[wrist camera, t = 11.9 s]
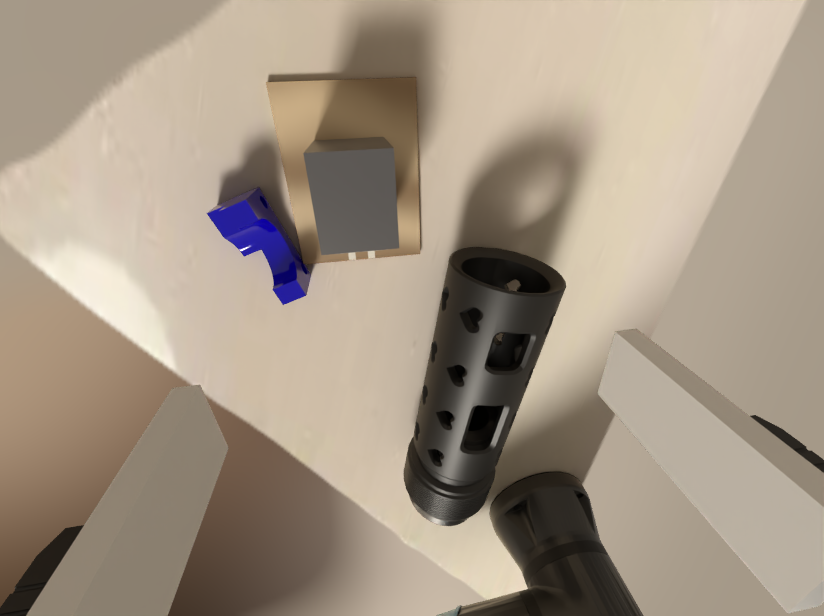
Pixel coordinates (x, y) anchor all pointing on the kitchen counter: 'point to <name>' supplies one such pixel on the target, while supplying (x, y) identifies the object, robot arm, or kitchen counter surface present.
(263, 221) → the cable holder
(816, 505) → the robot arm
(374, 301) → the kitchen counter surface
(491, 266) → the muzzle brake
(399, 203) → the mat
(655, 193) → the kitchen counter surface
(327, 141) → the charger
